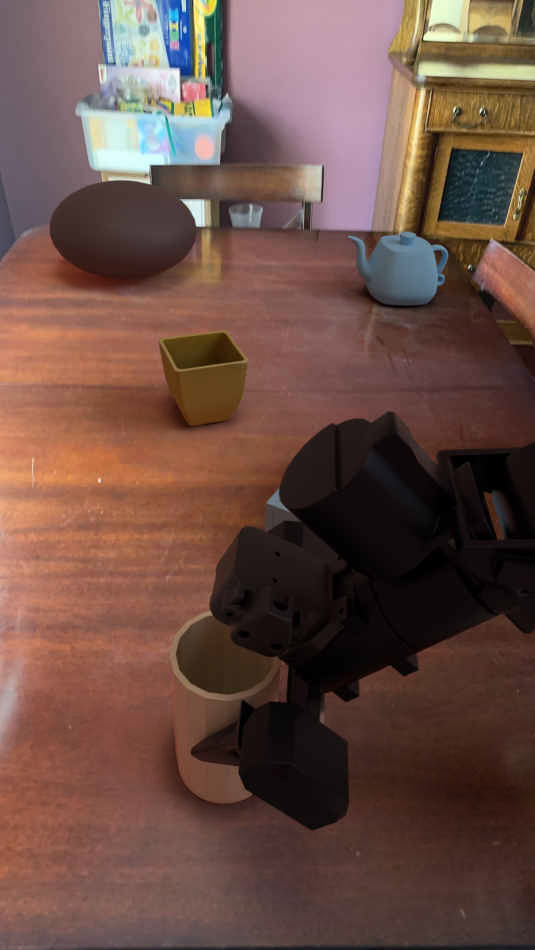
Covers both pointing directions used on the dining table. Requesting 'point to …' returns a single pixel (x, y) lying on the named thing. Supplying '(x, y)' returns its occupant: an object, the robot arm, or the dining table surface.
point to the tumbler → (214, 699)
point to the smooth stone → (123, 229)
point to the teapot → (401, 269)
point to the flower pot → (204, 375)
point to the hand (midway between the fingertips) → (204, 700)
